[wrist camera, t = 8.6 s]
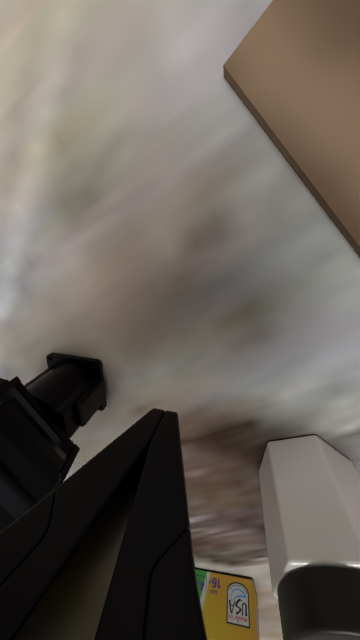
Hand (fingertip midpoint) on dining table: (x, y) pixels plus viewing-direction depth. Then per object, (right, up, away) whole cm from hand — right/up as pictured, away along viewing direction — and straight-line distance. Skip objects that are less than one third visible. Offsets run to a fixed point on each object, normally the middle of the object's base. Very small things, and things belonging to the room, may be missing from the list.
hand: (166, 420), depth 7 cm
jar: (+13, -12, +16) cm, 23 cm away
